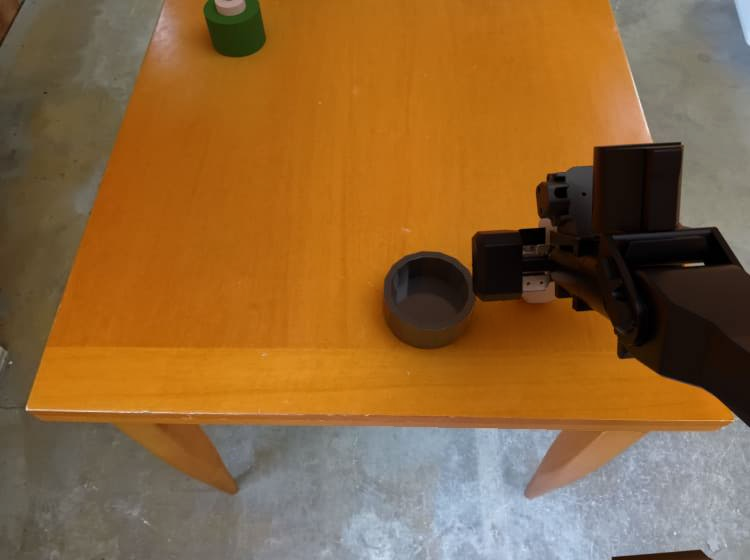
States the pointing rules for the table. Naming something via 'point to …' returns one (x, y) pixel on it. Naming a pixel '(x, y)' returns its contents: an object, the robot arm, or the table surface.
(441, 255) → the holder
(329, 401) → the table surface
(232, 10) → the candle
